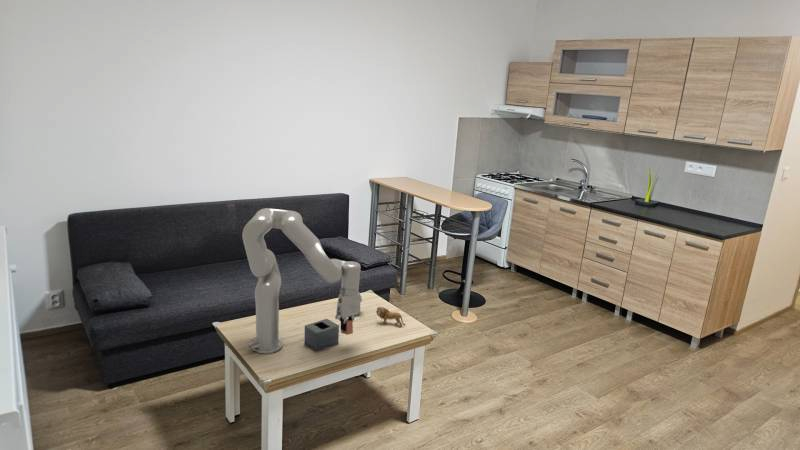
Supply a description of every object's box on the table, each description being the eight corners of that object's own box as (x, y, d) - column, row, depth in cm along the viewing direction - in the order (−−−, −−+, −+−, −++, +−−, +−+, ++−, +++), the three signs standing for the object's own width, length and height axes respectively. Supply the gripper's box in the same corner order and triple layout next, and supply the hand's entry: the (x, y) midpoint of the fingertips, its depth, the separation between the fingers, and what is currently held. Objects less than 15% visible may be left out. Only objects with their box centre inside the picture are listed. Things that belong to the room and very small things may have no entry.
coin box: (316, 352, 227) (316, 332, 225) (304, 344, 233) (304, 325, 231) (338, 343, 235) (339, 325, 233) (326, 336, 241) (326, 318, 239)
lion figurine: (375, 325, 255) (376, 308, 253) (376, 321, 261) (377, 304, 258) (405, 328, 255) (406, 311, 253) (405, 323, 260) (406, 306, 258)
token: (347, 334, 227) (347, 322, 226) (341, 332, 230) (340, 320, 230) (352, 333, 229) (352, 320, 229) (346, 331, 232) (345, 319, 232)
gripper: (340, 296, 217) (336, 337, 222) (369, 289, 228) (365, 328, 233) (329, 290, 222) (326, 330, 227) (358, 283, 233) (354, 321, 238)
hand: (346, 328), depth 230 cm, fingers closed on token, 2 cm apart
